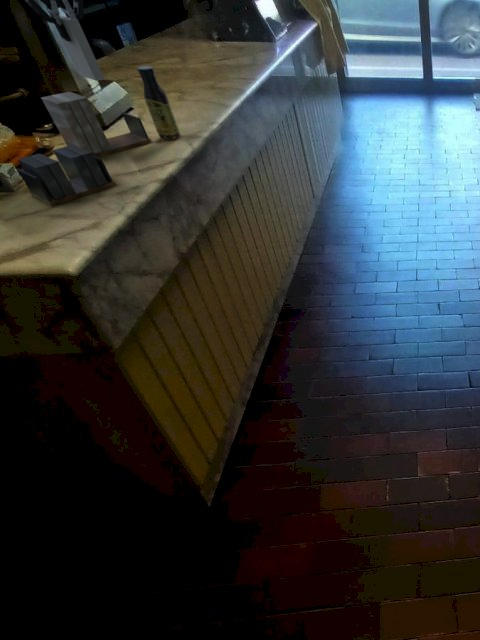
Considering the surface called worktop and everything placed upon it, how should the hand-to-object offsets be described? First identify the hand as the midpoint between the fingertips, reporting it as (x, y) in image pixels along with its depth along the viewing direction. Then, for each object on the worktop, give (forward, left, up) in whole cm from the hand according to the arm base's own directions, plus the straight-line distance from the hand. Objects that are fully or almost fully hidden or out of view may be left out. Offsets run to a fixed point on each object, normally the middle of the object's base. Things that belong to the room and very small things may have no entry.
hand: (73, 39), depth 140 cm
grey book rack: (-26, -23, -28) cm, 44 cm away
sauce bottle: (+12, -6, -28) cm, 31 cm away
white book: (0, 0, -9) cm, 9 cm away
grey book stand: (-4, 0, -28) cm, 28 cm away
